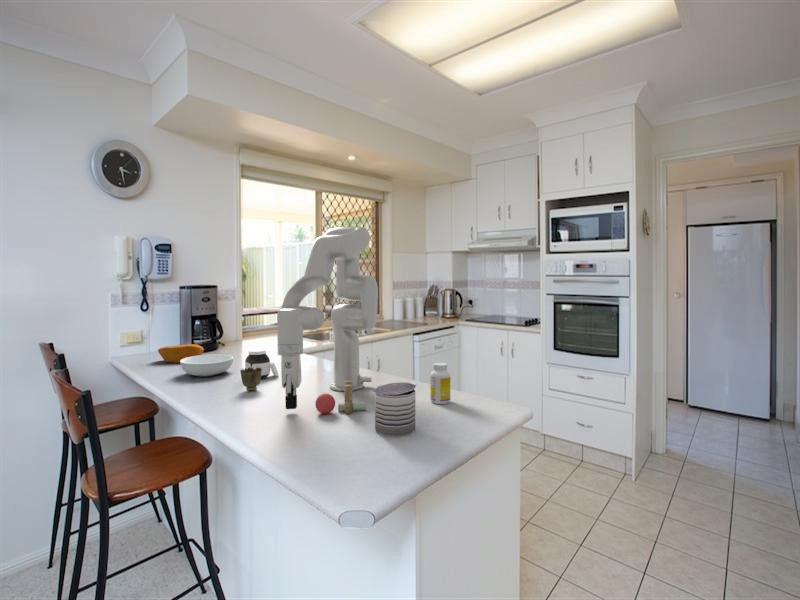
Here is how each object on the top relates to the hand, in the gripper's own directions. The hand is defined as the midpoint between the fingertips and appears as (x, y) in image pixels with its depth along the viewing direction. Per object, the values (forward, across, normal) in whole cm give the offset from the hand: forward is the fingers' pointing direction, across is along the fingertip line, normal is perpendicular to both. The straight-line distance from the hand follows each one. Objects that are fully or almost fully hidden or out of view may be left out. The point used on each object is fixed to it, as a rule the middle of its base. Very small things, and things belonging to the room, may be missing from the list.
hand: (291, 408), depth 126 cm
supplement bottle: (+2, +5, -48) cm, 48 cm away
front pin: (0, 0, -14) cm, 14 cm away
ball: (-2, -2, -10) cm, 11 cm away
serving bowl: (+2, +58, +43) cm, 72 cm away
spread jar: (+2, +49, +18) cm, 52 cm away
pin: (+2, -2, -18) cm, 18 cm away
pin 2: (+2, +2, -18) cm, 18 cm away
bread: (+2, +90, +66) cm, 112 cm away
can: (+2, -18, -30) cm, 35 cm away
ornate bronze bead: (+2, +28, +18) cm, 33 cm away
